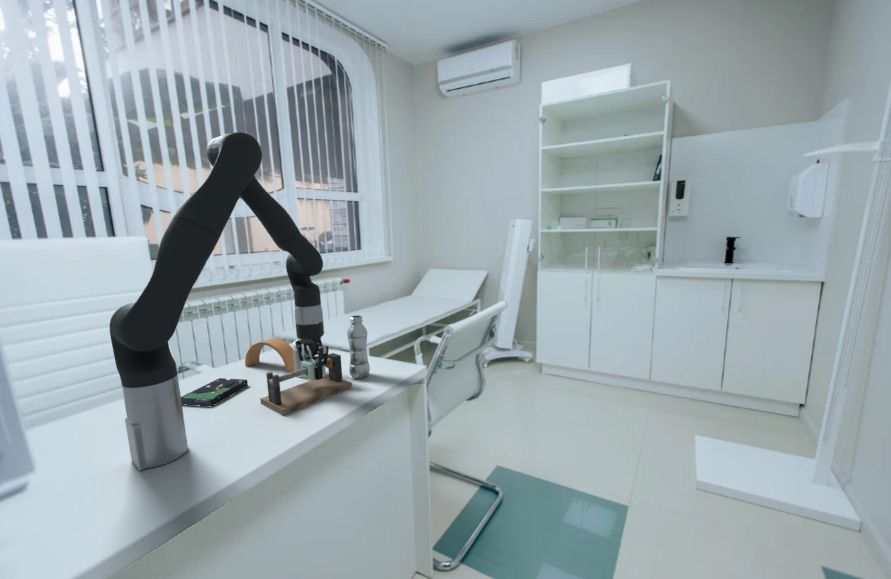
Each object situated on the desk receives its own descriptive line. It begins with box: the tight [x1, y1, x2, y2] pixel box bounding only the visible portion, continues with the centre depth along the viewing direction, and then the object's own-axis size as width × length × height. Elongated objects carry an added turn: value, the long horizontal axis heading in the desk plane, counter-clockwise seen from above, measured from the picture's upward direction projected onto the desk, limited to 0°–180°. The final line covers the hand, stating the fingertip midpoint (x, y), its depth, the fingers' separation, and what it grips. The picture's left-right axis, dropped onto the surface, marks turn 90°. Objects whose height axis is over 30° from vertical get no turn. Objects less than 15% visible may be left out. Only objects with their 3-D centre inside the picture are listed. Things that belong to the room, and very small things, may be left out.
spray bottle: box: [292, 334, 317, 379], centre depth 126 cm, size 7×7×18 cm
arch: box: [244, 337, 295, 374], centre depth 135 cm, size 6×20×10 cm, turn 68°
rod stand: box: [259, 352, 353, 416], centre depth 110 cm, size 22×12×10 cm, turn 141°
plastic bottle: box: [346, 315, 371, 379], centre depth 122 cm, size 6×7×20 cm
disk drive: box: [181, 377, 249, 407], centre depth 112 cm, size 10×3×15 cm
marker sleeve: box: [301, 359, 327, 381], centre depth 111 cm, size 5×4×4 cm
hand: (314, 376), depth 111 cm, fingers closed on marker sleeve, 4 cm apart
